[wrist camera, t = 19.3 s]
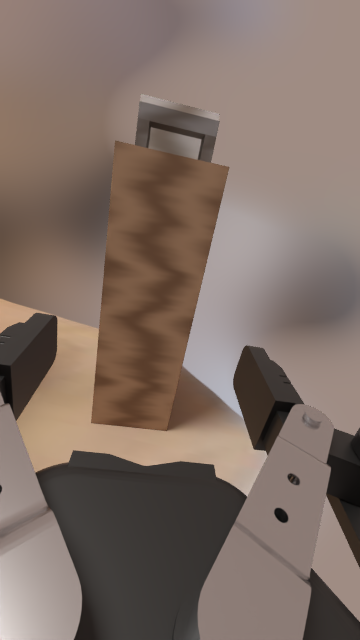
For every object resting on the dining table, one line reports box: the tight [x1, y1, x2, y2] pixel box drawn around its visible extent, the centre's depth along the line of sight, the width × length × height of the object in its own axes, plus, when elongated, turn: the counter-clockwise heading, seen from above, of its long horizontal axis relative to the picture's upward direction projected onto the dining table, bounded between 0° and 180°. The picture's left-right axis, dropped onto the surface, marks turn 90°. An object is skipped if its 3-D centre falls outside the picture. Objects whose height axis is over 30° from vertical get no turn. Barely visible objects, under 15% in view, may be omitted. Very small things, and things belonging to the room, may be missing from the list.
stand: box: [91, 94, 229, 431], centre depth 35 cm, size 10×12×37 cm
